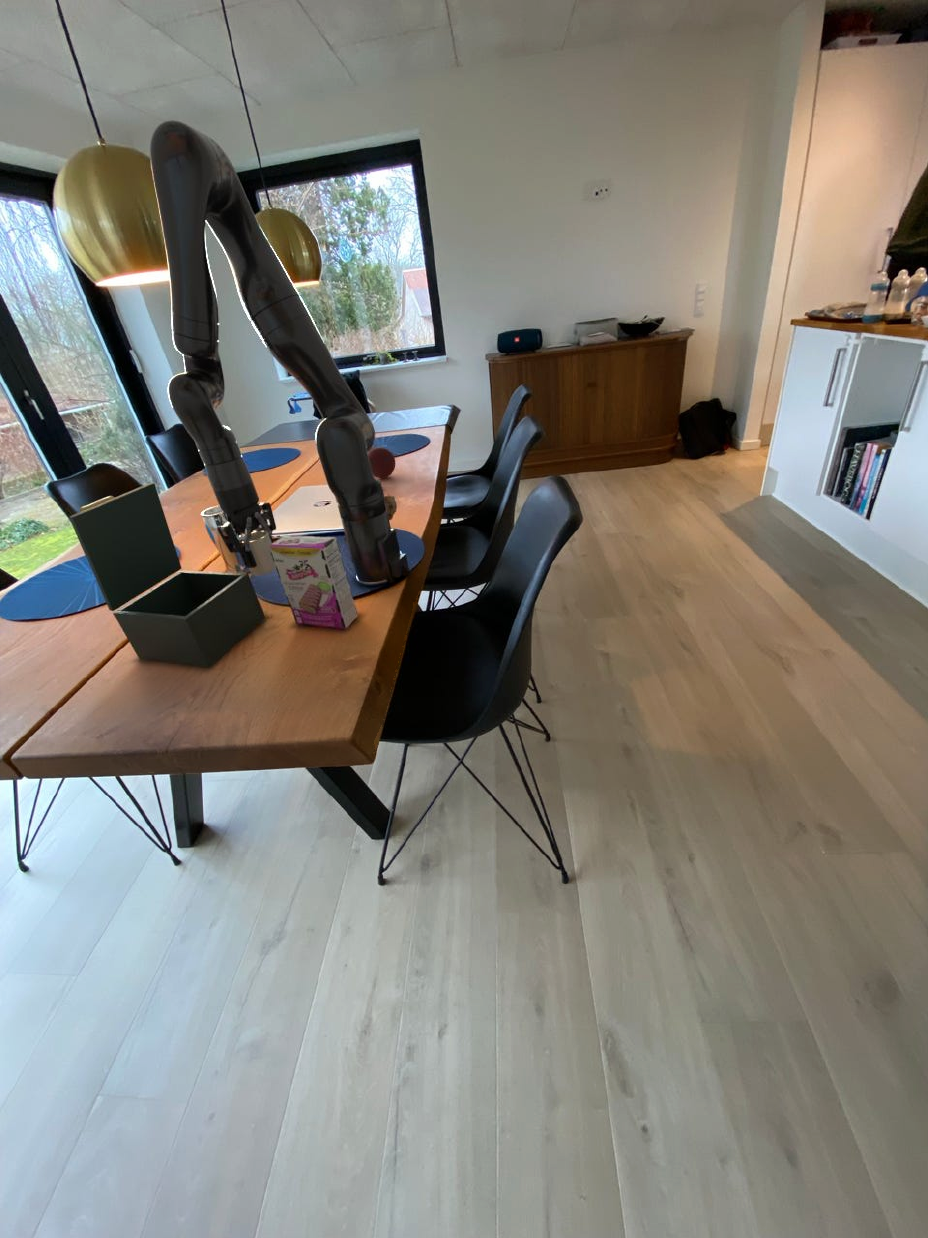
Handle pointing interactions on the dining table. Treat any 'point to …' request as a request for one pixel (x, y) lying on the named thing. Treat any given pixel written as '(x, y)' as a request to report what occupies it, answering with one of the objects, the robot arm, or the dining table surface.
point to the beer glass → (212, 521)
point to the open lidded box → (191, 617)
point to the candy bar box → (314, 580)
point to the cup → (261, 553)
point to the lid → (127, 543)
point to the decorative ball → (381, 462)
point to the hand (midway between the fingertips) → (262, 559)
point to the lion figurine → (390, 506)
